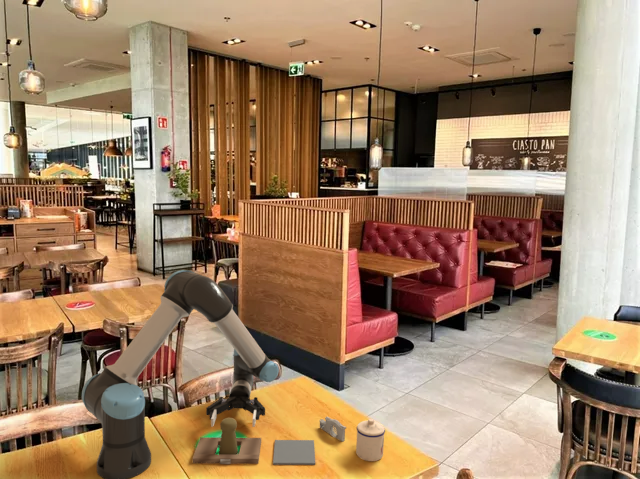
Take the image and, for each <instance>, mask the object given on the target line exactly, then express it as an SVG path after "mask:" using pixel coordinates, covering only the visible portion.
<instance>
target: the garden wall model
mask: <svg viewBox="0 0 640 479" xmlns="http://www.w3.org/2000/svg"><path fill="white" fill-rule="evenodd" d="M319 428H320V429H321V430H322V431H324V432H326V433H328V435H330V436H331V437H333V438H335V439H336V440H338V441H340V442H344V441H346V440H345V439H346V429H347V426H345V425H343V424H342V423H341V422H340V421H339V420H338V419H336V418H335V419H334V418H331V417H329V416H325V417H324V419H319Z"/></svg>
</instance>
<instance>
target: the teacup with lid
mask: <svg viewBox="0 0 640 479" xmlns="http://www.w3.org/2000/svg"><path fill="white" fill-rule="evenodd" d="M385 433H386V429H385V427H384V425H383V424H382V423H380V422H378V421H376V420H375V419H373V418H369V419H367V420H363V421H360V422H359V423H358V424H357V426H356V447H355V448H356V449H355V451H356V452H355V453H356V455H357V457H358V458H360V459H361V460H364V461H365V462H376V461H379V460H381V459H382V458H383V456H384V444H385Z"/></svg>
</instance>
